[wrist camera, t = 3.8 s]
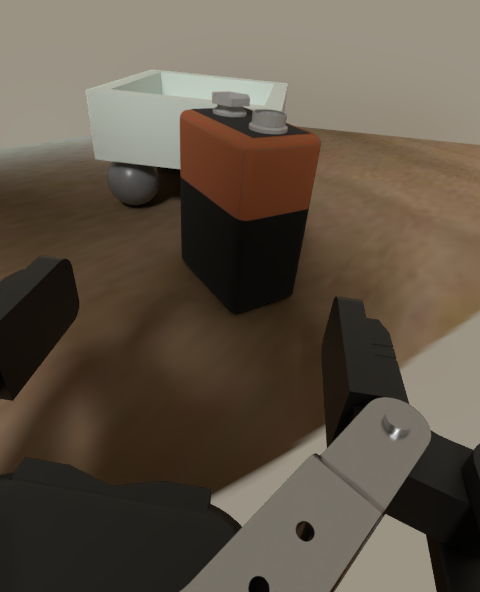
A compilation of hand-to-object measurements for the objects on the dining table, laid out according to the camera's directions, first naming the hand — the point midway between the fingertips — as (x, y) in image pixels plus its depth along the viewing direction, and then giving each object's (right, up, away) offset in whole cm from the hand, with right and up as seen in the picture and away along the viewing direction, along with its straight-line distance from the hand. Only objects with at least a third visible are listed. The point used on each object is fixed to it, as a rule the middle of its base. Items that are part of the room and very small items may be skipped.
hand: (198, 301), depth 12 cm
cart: (-2, +10, +24) cm, 26 cm away
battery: (+1, +1, +12) cm, 12 cm away
